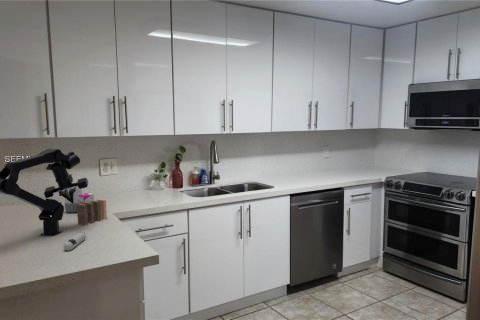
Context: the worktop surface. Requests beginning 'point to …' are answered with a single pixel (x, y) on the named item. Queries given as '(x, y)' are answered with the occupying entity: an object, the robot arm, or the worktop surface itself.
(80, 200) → the supplement box
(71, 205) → the smart speaker
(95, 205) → the domino
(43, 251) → the worktop surface
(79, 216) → the domino
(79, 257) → the worktop surface
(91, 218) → the domino
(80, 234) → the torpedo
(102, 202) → the end domino
